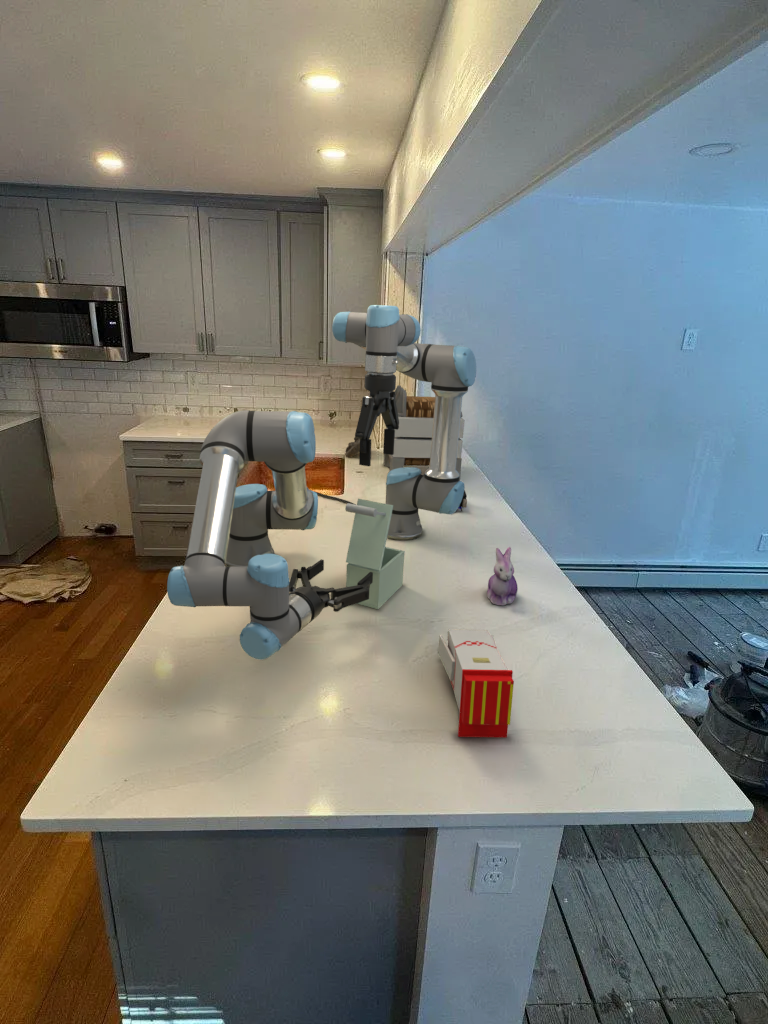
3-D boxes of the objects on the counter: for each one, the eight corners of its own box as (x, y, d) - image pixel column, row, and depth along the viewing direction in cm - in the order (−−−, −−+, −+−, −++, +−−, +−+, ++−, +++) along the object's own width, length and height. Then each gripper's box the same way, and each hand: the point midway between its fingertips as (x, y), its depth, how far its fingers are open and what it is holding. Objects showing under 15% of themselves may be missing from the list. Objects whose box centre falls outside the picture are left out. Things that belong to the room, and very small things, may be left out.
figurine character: (467, 516, 223) (461, 500, 237) (469, 499, 220) (463, 483, 233) (450, 516, 223) (446, 499, 236) (452, 498, 220) (447, 483, 233)
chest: (372, 577, 167) (373, 543, 163) (402, 585, 163) (404, 551, 159) (345, 600, 153) (346, 564, 149) (378, 609, 149) (379, 572, 146)
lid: (359, 498, 149) (344, 495, 141) (393, 505, 146) (379, 502, 137) (347, 562, 150) (331, 562, 141) (380, 570, 146) (365, 571, 137)
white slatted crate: (382, 463, 289) (386, 382, 275) (445, 464, 293) (451, 384, 279) (390, 482, 257) (394, 392, 243) (460, 483, 261) (468, 394, 247)
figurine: (499, 610, 151) (506, 558, 146) (476, 593, 160) (482, 544, 155) (527, 603, 156) (534, 553, 151) (503, 587, 164) (509, 539, 159)
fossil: (345, 440, 315) (366, 425, 310) (356, 453, 318) (377, 439, 313) (338, 454, 296) (361, 438, 291) (350, 468, 298) (372, 452, 293)
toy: (488, 613, 130) (523, 677, 101) (484, 667, 133) (517, 744, 104) (435, 612, 130) (455, 676, 101) (432, 666, 133) (451, 743, 103)
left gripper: (250, 610, 126) (303, 572, 144) (349, 640, 117) (392, 596, 135) (249, 580, 124) (303, 545, 142) (350, 608, 114) (393, 568, 132)
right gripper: (371, 379, 124) (368, 473, 131) (414, 370, 145) (409, 451, 152) (341, 376, 127) (339, 468, 134) (388, 368, 148) (384, 447, 155)
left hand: (346, 570), depth 138 cm, fingers open, 13 cm apart
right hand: (377, 459), depth 143 cm, fingers open, 13 cm apart
